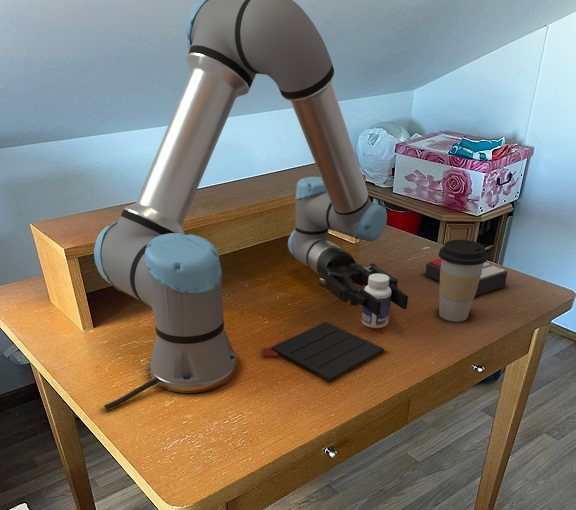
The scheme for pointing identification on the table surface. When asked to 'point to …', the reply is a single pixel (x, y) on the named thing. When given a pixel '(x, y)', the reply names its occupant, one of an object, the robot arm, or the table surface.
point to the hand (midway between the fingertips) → (392, 305)
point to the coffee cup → (459, 277)
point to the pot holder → (326, 351)
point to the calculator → (488, 280)
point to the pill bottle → (382, 293)
